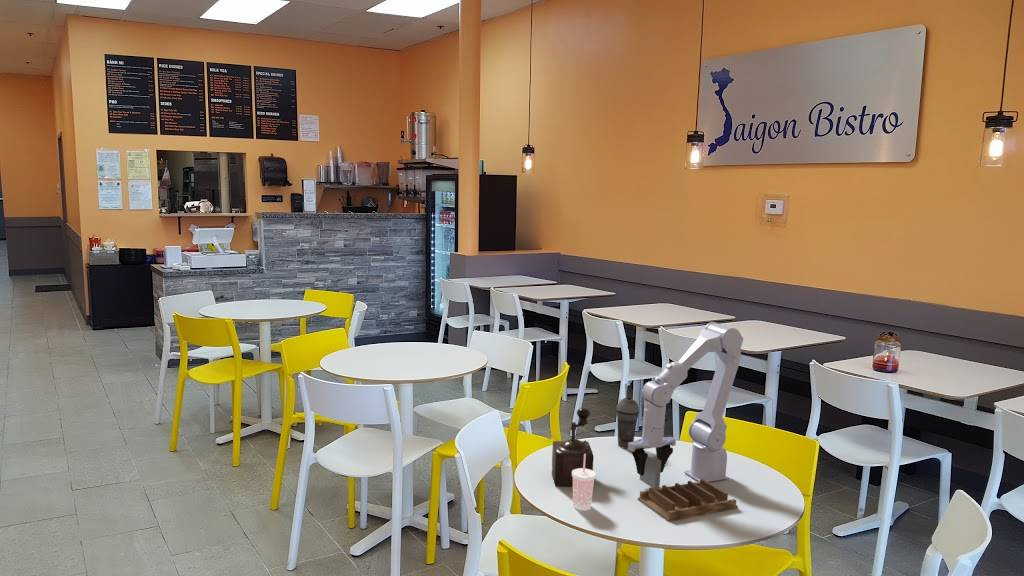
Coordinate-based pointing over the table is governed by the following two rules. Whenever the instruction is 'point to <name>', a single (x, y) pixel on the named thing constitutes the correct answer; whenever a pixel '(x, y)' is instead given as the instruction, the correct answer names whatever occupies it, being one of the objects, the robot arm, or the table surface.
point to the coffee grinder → (571, 454)
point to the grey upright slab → (652, 471)
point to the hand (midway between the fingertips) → (650, 472)
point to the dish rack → (686, 500)
